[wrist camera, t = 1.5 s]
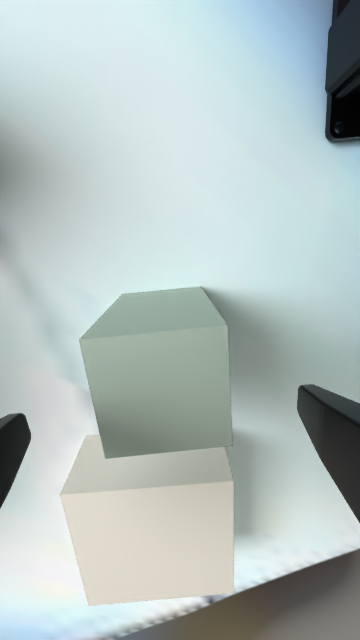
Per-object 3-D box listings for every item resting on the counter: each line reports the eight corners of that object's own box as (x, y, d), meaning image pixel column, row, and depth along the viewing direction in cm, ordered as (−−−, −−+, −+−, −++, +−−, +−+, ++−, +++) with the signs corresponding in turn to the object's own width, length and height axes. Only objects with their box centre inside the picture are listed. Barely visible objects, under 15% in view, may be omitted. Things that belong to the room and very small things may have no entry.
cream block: (218, 423, 20) (233, 480, 15) (220, 518, 22) (233, 593, 18) (87, 432, 19) (59, 495, 15) (106, 527, 22) (88, 605, 18)
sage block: (200, 286, 16) (227, 325, 9) (205, 358, 18) (232, 445, 10) (122, 294, 16) (78, 339, 9) (133, 365, 18) (105, 459, 10)
